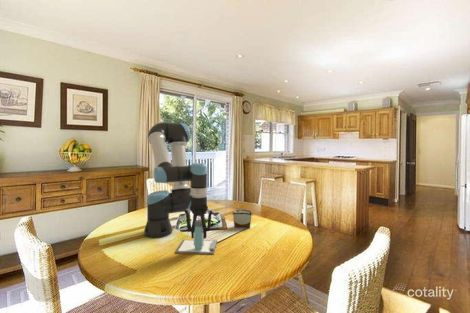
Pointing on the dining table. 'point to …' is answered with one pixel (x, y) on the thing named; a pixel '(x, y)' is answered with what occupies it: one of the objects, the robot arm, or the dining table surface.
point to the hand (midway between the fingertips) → (199, 244)
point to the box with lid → (198, 234)
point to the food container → (242, 218)
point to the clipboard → (189, 248)
